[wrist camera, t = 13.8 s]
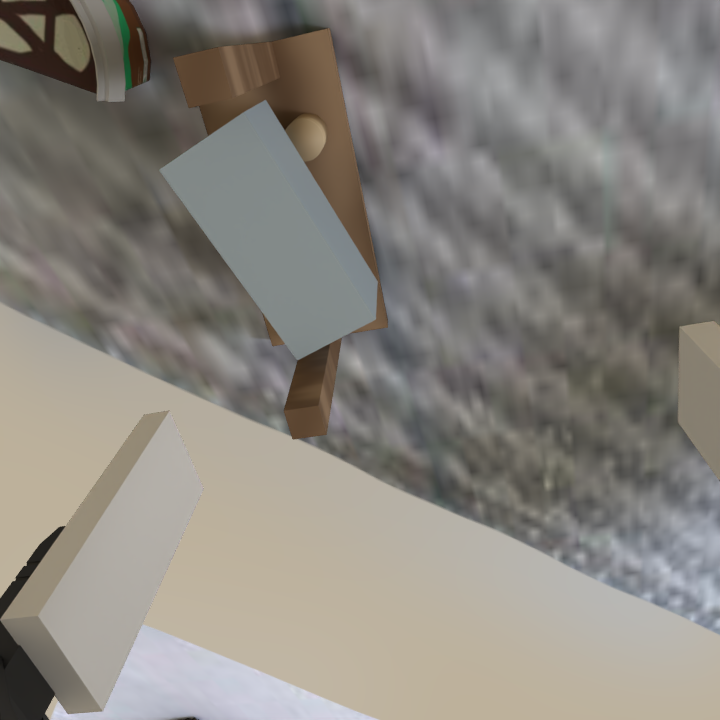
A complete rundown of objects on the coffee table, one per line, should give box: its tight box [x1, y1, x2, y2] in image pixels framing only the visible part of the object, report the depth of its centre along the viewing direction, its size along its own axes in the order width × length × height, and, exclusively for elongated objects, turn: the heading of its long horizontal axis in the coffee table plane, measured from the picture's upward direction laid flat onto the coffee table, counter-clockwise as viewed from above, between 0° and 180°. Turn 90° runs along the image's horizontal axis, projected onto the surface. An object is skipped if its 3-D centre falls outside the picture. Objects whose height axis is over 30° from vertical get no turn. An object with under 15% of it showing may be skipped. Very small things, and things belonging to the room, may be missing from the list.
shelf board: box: [159, 100, 378, 360], centre depth 36 cm, size 6×13×6 cm, turn 31°
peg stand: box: [173, 28, 388, 439], centre depth 36 cm, size 9×20×14 cm, turn 11°
